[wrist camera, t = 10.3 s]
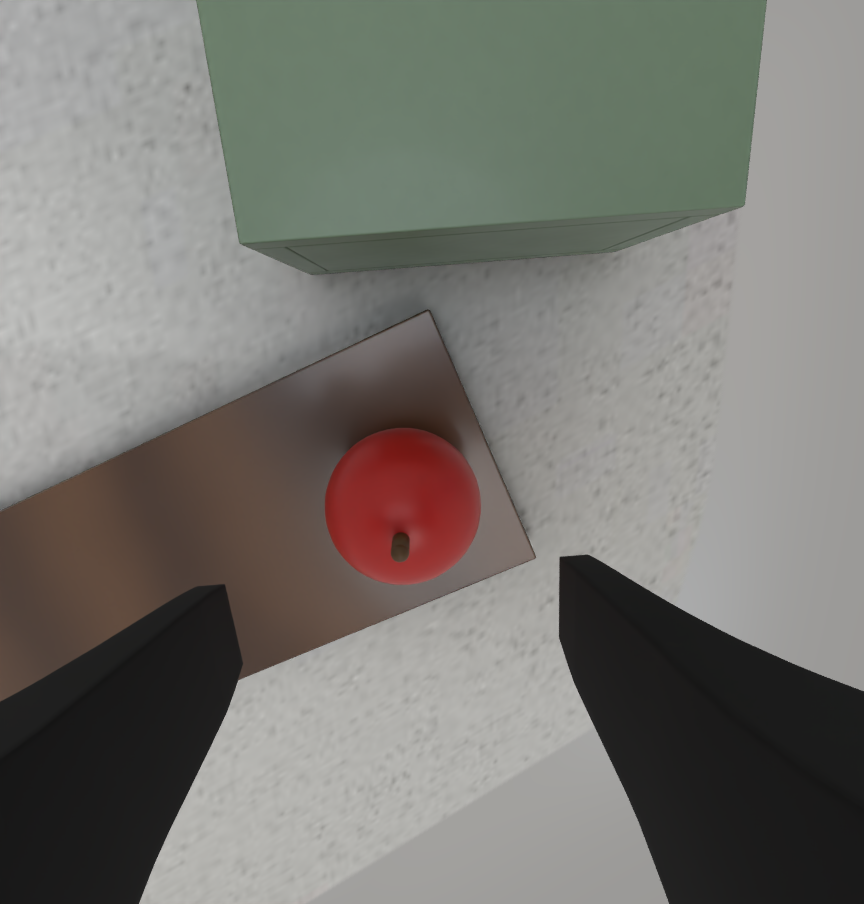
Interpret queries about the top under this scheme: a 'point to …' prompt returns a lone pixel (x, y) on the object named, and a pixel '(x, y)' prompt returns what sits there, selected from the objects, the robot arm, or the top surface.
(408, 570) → the apple
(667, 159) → the cabinet
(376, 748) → the top surface
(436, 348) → the board
